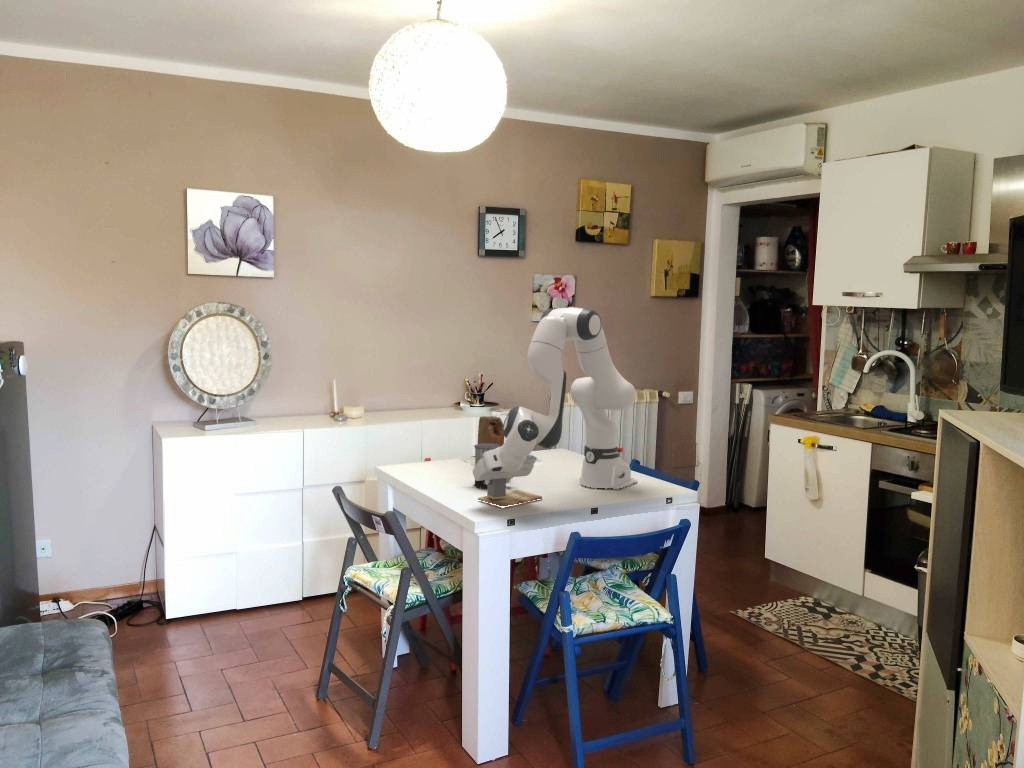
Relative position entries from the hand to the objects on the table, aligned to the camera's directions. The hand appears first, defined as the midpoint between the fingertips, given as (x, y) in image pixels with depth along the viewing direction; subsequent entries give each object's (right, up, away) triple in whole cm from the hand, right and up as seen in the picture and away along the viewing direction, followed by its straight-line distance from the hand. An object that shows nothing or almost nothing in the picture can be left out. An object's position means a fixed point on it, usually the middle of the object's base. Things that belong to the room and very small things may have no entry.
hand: (495, 482), depth 271 cm
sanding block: (0, -5, 0) cm, 5 cm away
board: (+5, -6, +3) cm, 8 cm away
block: (-3, -1, +55) cm, 56 cm away
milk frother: (-2, -4, +26) cm, 26 cm away
